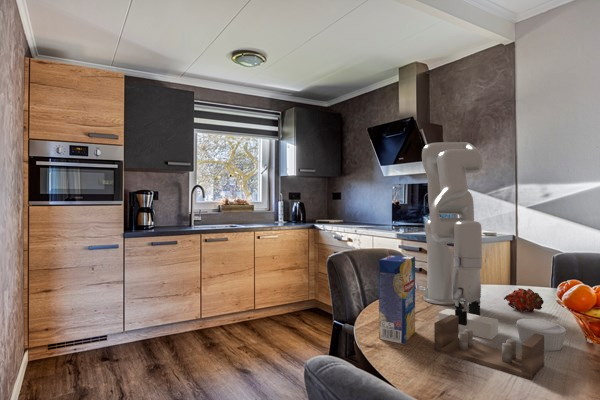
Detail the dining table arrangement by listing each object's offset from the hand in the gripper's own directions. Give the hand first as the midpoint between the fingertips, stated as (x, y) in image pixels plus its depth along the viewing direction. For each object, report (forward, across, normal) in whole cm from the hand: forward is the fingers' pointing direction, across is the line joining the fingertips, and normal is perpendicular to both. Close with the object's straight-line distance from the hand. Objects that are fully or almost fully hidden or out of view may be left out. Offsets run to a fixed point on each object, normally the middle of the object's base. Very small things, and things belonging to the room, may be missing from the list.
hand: (467, 320), depth 110 cm
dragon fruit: (+3, -33, +6) cm, 34 cm away
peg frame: (+3, +16, +11) cm, 19 cm away
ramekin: (+3, -4, +18) cm, 18 cm away
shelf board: (+3, 0, 0) cm, 3 cm away
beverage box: (+3, +18, -13) cm, 22 cm away
